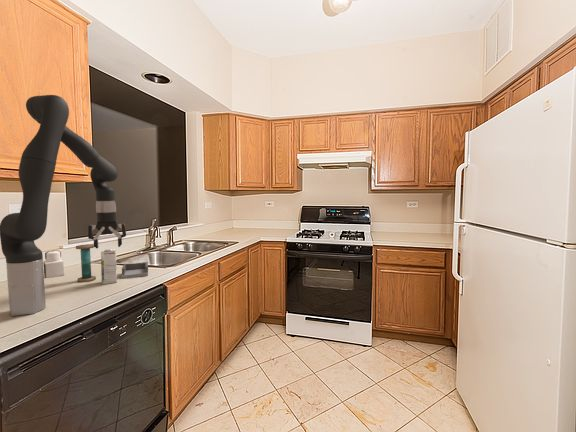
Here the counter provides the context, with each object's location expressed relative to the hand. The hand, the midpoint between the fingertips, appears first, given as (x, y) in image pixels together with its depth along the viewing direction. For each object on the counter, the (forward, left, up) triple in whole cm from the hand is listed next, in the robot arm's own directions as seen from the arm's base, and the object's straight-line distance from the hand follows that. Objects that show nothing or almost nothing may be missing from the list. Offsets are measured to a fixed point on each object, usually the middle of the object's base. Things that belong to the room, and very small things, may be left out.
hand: (108, 247), depth 132 cm
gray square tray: (+9, -10, -16) cm, 21 cm away
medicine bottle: (+24, +26, -16) cm, 39 cm away
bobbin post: (+8, +10, -16) cm, 20 cm away
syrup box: (0, 0, -16) cm, 16 cm away
